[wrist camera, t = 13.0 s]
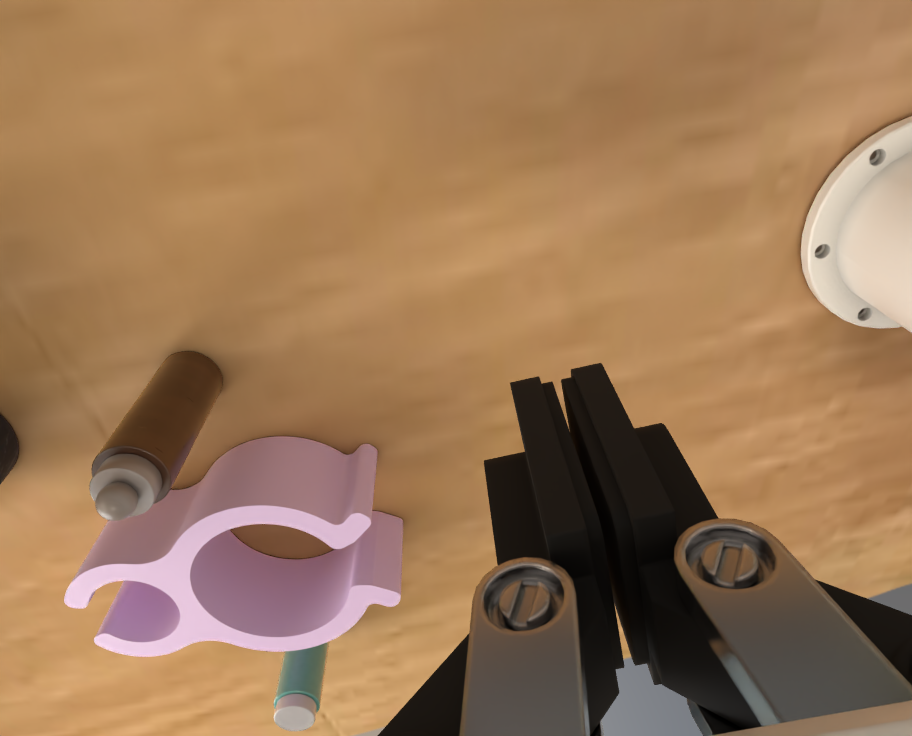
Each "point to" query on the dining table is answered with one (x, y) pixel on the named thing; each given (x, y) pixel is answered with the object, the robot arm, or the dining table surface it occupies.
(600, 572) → the robot arm
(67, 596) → the clip
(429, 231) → the dining table surface
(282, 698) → the green cylinder
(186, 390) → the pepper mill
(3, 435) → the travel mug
